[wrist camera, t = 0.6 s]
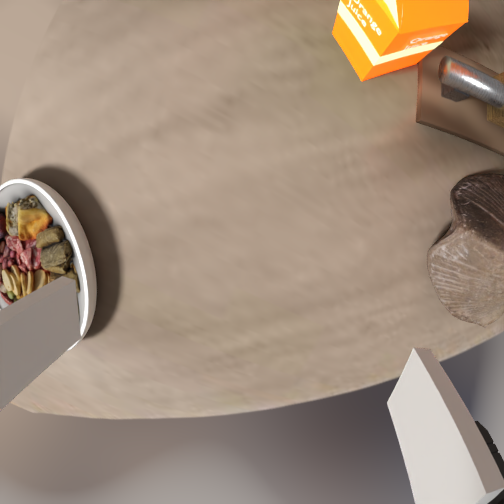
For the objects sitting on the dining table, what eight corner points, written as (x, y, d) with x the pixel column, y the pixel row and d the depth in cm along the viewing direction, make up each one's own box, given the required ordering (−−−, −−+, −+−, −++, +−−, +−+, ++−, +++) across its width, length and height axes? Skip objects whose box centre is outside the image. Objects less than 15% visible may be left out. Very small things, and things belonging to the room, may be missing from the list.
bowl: (122, 205, 38) (88, 213, 31) (99, 367, 47) (77, 391, 39) (5, 161, 39) (-26, 163, 32) (-1, 298, 48) (-25, 311, 40)
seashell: (559, 204, 22) (571, 266, 15) (510, 290, 33) (491, 361, 26) (468, 149, 30) (446, 184, 23) (435, 242, 42) (399, 298, 35)
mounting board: (417, 42, 27) (421, 38, 26) (544, 108, 25) (549, 107, 24) (415, 122, 31) (420, 120, 29) (543, 176, 28) (549, 177, 27)
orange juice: (330, 32, 29) (356, -70, 10) (386, 17, 27) (439, -70, 8) (362, 83, 30) (423, 3, 11) (417, 65, 28) (498, -1, 9)
